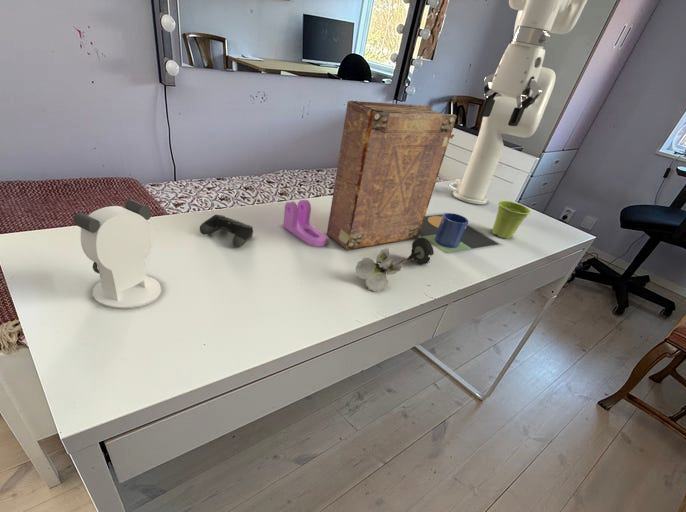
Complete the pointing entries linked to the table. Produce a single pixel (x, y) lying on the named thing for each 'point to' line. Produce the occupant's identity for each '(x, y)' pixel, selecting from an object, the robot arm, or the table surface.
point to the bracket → (302, 223)
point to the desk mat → (467, 242)
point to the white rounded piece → (120, 254)
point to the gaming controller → (228, 228)
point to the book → (386, 172)
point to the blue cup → (451, 230)
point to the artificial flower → (391, 264)
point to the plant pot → (509, 218)
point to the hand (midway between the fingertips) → (498, 121)
